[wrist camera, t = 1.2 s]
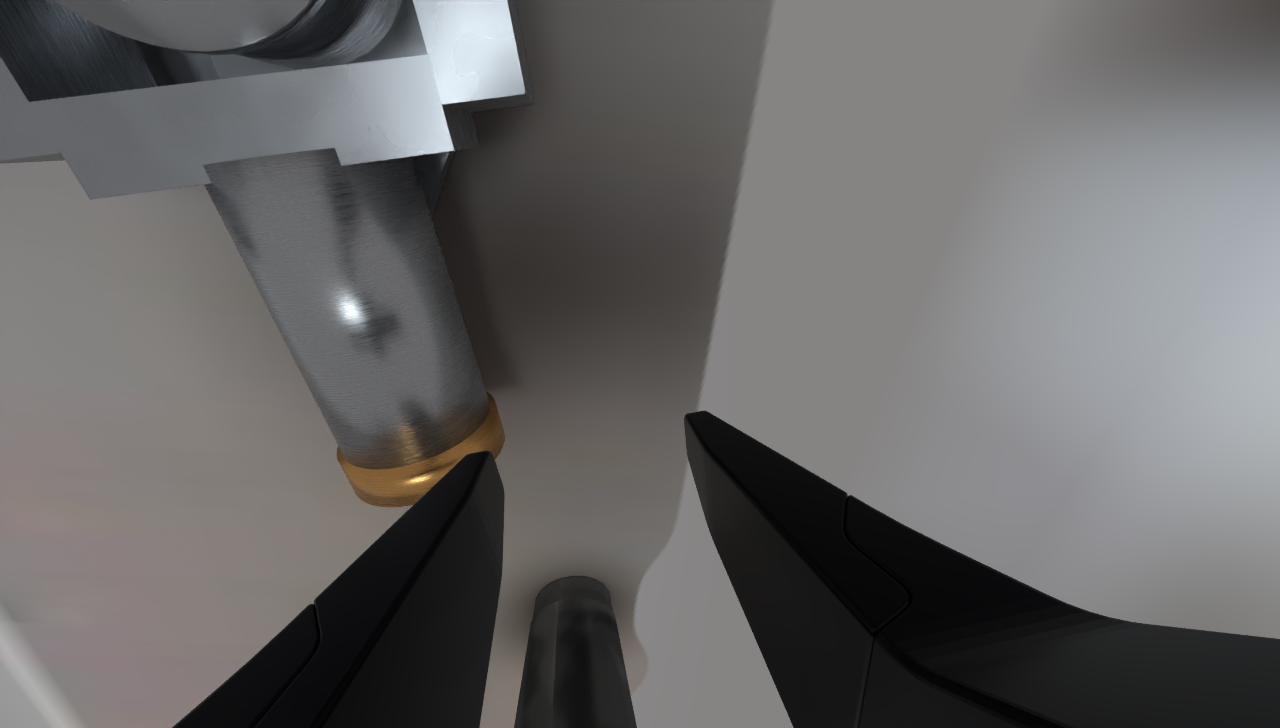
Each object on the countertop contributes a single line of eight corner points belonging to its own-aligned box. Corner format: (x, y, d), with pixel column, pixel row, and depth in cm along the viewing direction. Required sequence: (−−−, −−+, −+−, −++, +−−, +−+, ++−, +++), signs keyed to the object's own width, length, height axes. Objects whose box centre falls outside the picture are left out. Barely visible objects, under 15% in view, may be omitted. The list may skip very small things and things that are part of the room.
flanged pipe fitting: (-212, -465, 9) (-1050, -1114, 4) (422, -487, 10) (294, -1043, 5) (298, 442, 19) (210, 543, 15) (592, 390, 20) (600, 469, 16)
